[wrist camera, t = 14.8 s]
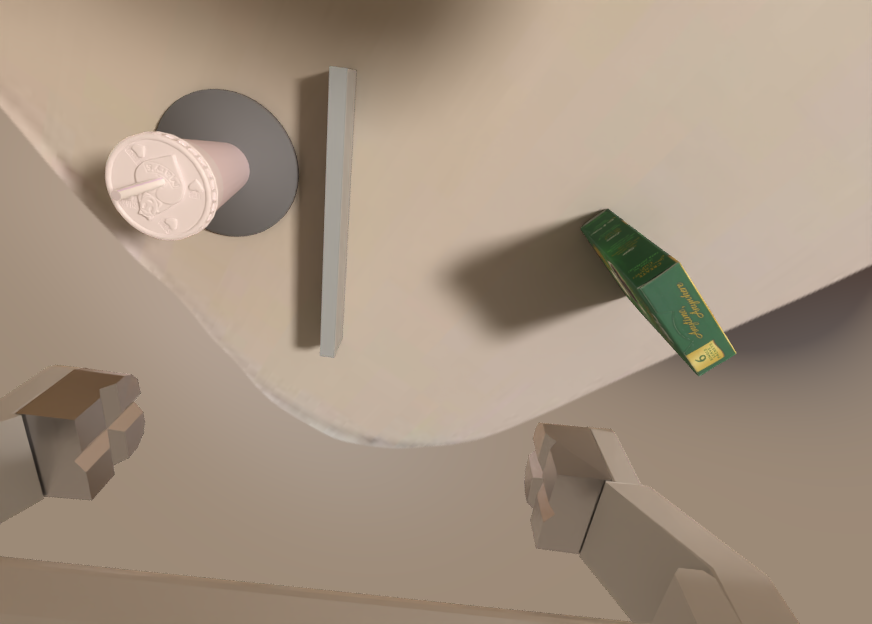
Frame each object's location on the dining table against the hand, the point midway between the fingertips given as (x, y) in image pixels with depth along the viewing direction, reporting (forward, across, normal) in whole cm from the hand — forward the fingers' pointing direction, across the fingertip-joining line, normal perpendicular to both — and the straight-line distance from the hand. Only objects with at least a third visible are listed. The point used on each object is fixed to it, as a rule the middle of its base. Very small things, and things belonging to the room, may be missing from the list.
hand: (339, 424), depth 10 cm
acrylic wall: (+31, +6, +4) cm, 32 cm away
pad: (+31, +15, +1) cm, 34 cm away
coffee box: (+31, -17, +4) cm, 36 cm away
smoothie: (+31, +15, +1) cm, 34 cm away
